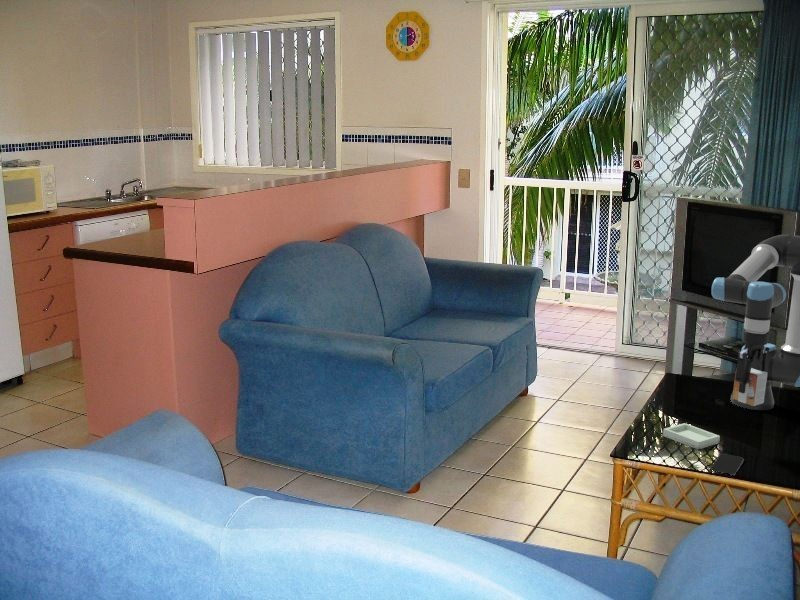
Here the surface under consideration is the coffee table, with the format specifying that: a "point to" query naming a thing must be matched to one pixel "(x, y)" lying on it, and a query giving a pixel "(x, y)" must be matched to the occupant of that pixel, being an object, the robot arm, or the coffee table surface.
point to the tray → (691, 436)
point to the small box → (753, 387)
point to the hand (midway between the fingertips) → (748, 400)
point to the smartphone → (727, 464)
